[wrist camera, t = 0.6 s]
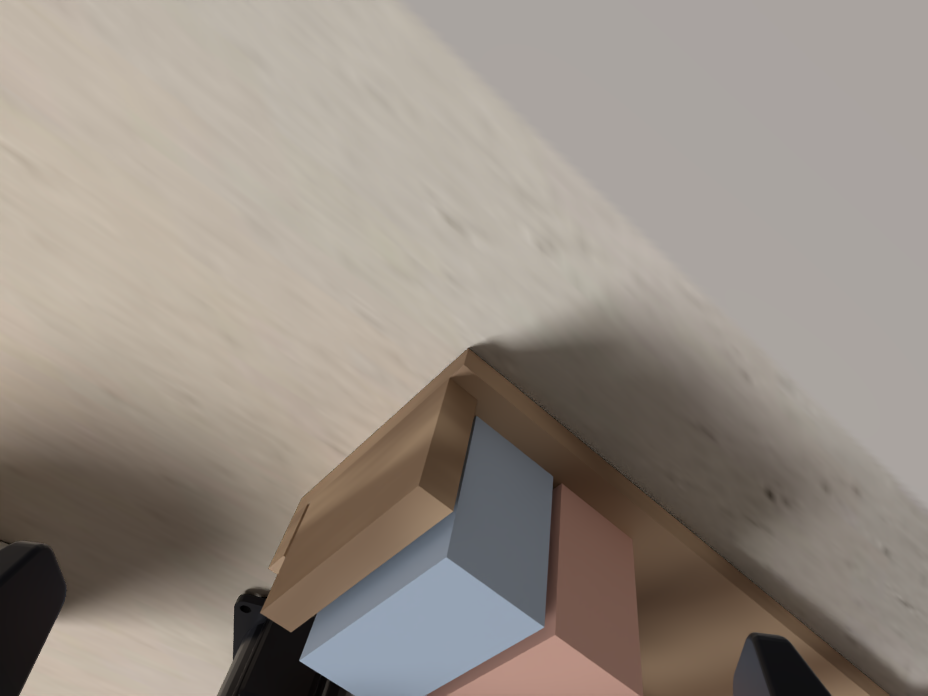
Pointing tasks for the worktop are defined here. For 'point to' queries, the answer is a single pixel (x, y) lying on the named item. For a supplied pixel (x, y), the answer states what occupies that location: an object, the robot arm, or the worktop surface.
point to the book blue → (447, 584)
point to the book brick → (573, 618)
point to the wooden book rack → (570, 463)
